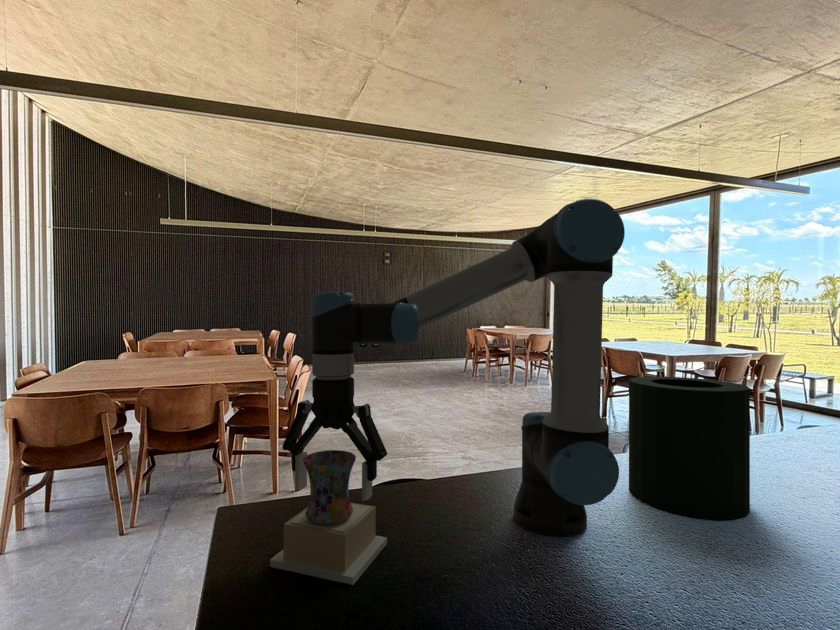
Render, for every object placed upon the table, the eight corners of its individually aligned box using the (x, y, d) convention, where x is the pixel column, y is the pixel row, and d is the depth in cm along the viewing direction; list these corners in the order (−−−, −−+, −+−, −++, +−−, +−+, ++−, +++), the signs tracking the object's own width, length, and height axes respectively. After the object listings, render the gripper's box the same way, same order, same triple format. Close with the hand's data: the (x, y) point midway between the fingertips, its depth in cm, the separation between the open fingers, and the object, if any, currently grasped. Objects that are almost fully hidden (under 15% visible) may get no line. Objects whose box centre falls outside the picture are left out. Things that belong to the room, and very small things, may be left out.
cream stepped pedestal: (387, 543, 85) (387, 505, 85) (353, 585, 71) (353, 539, 72) (314, 530, 90) (314, 494, 90) (270, 566, 77) (270, 523, 77)
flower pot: (632, 509, 101) (632, 386, 102) (626, 474, 125) (626, 374, 125) (766, 529, 92) (766, 394, 92) (732, 487, 115) (732, 379, 115)
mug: (357, 526, 76) (357, 464, 76) (301, 531, 74) (302, 467, 74) (352, 498, 88) (353, 444, 88) (304, 502, 86) (304, 447, 86)
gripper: (404, 376, 81) (404, 494, 80) (287, 371, 89) (287, 478, 88) (388, 382, 74) (388, 510, 73) (263, 376, 82) (262, 492, 81)
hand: (333, 493), depth 81 cm, fingers open, 13 cm apart
